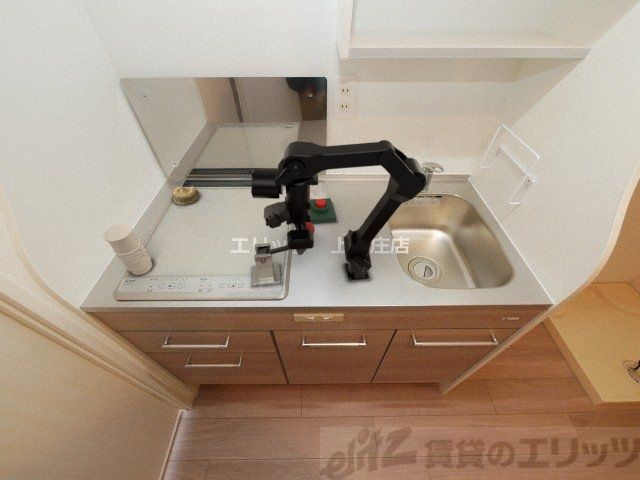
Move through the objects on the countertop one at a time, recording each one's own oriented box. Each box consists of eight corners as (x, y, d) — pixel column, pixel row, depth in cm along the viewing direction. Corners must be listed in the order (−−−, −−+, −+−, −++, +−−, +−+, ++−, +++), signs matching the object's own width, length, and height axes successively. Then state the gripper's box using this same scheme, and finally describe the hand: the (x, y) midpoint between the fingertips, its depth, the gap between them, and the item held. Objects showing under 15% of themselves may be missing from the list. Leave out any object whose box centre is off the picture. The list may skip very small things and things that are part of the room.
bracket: (279, 265, 86) (276, 239, 77) (280, 283, 81) (277, 258, 72) (253, 267, 85) (248, 242, 76) (253, 286, 80) (247, 260, 71)
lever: (306, 242, 77) (304, 234, 75) (308, 250, 75) (305, 243, 73) (260, 254, 78) (256, 247, 76) (260, 263, 76) (256, 256, 73)
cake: (199, 204, 106) (195, 194, 102) (172, 207, 104) (167, 197, 100) (200, 188, 112) (196, 177, 108) (175, 191, 110) (170, 180, 106)
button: (326, 208, 101) (326, 204, 100) (316, 208, 101) (316, 204, 99) (324, 202, 104) (324, 198, 102) (315, 202, 103) (315, 199, 102)
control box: (335, 221, 101) (336, 213, 98) (309, 223, 100) (309, 215, 97) (330, 202, 110) (330, 194, 107) (305, 203, 108) (305, 195, 105)
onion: (312, 244, 93) (312, 227, 87) (296, 241, 93) (295, 224, 87) (315, 233, 97) (316, 216, 91) (300, 230, 97) (300, 213, 91)
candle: (150, 274, 81) (127, 240, 70) (125, 277, 80) (98, 242, 69) (156, 257, 86) (135, 222, 75) (133, 259, 85) (108, 224, 74)
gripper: (264, 176, 70) (270, 221, 81) (262, 225, 57) (269, 270, 68) (307, 175, 71) (307, 219, 82) (314, 222, 58) (313, 267, 69)
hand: (299, 242), depth 75 cm, fingers open, 9 cm apart
